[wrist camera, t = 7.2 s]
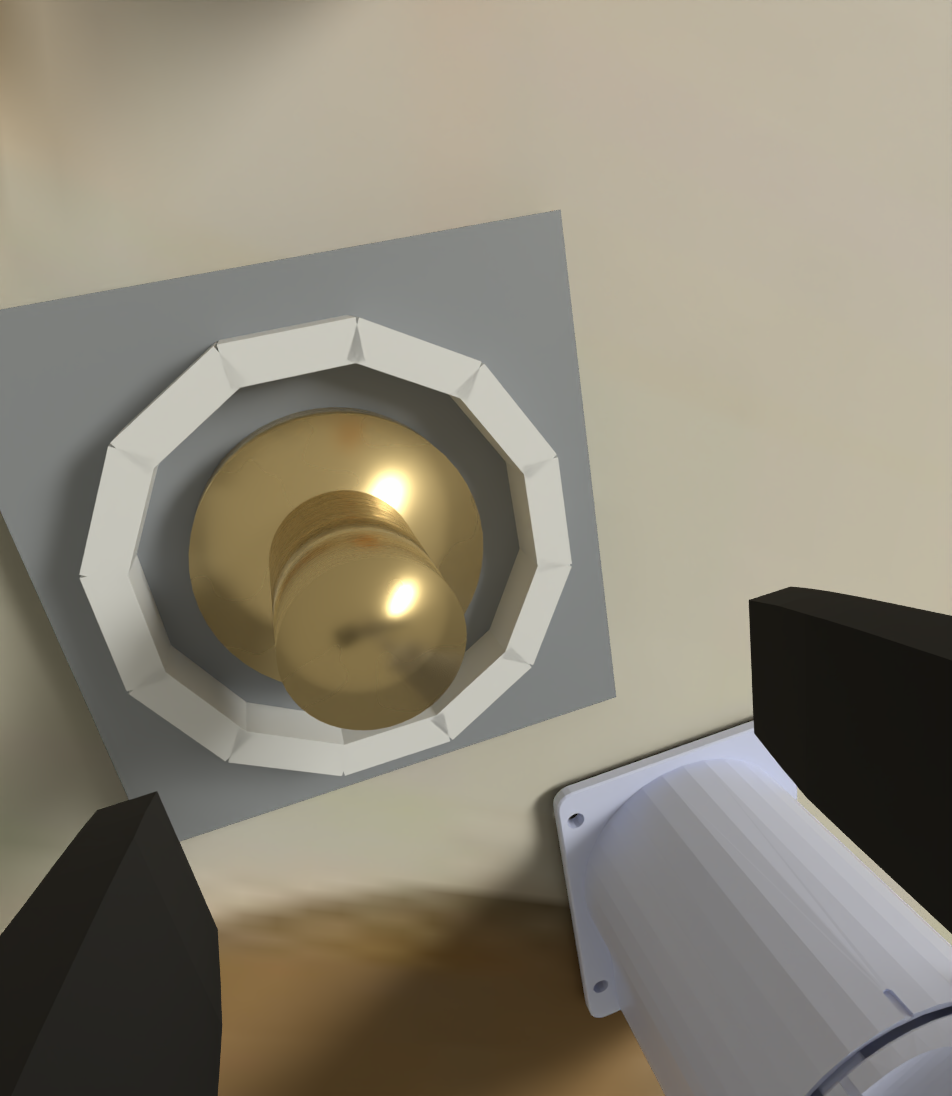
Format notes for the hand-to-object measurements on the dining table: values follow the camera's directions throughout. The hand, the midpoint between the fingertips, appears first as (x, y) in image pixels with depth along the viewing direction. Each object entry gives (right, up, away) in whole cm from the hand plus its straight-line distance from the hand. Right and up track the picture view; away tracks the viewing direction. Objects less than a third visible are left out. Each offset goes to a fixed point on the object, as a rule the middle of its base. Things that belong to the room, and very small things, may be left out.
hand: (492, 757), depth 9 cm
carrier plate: (-3, +3, +8) cm, 9 cm away
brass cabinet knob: (-3, +3, +7) cm, 8 cm away
